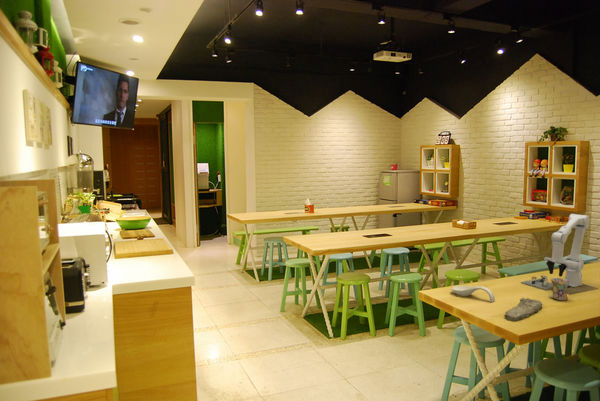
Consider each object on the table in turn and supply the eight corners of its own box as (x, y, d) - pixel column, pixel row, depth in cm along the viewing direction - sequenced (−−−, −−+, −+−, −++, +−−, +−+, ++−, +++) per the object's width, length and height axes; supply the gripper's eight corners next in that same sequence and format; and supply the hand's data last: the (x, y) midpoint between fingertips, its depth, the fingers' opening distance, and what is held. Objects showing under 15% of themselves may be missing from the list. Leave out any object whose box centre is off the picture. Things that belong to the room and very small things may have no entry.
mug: (572, 301, 249) (573, 283, 248) (555, 301, 249) (557, 282, 248) (559, 294, 261) (561, 276, 260) (543, 294, 261) (545, 276, 260)
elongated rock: (498, 320, 225) (518, 327, 217) (499, 310, 223) (519, 317, 216) (527, 301, 247) (546, 307, 240) (528, 292, 246) (547, 298, 239)
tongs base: (541, 280, 286) (541, 276, 285) (546, 282, 283) (546, 277, 282) (529, 283, 280) (529, 278, 279) (534, 284, 277) (534, 280, 276)
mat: (535, 280, 290) (535, 278, 290) (560, 286, 276) (560, 285, 276) (520, 283, 282) (521, 282, 282) (545, 290, 269) (545, 289, 268)
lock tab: (533, 279, 286) (534, 276, 286) (536, 280, 285) (536, 276, 285) (531, 280, 285) (531, 276, 285) (533, 281, 284) (534, 277, 283)
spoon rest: (447, 294, 259) (448, 282, 258) (456, 290, 268) (457, 278, 267) (489, 304, 243) (490, 292, 242) (497, 299, 251) (498, 287, 251)
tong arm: (540, 280, 285) (541, 275, 285) (548, 281, 283) (548, 276, 283) (538, 285, 275) (539, 279, 274) (546, 286, 273) (546, 281, 272)
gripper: (541, 250, 270) (540, 272, 272) (566, 256, 258) (564, 279, 260) (548, 249, 274) (547, 271, 276) (573, 254, 261) (571, 277, 263)
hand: (555, 275), depth 268 cm, fingers open, 5 cm apart
